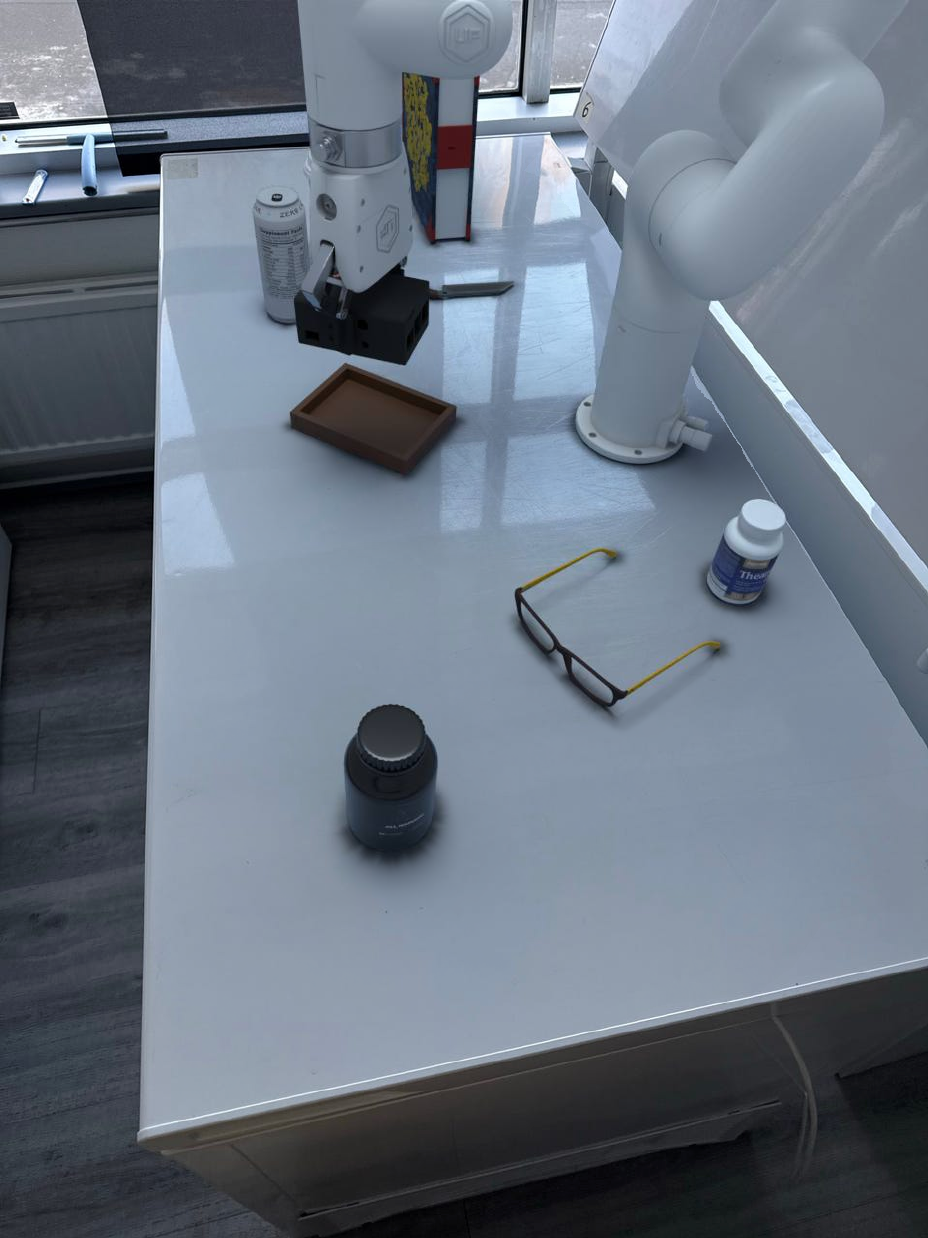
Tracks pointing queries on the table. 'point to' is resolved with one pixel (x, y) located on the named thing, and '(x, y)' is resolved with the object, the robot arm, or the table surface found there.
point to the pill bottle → (747, 552)
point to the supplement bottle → (390, 778)
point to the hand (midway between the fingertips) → (364, 325)
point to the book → (441, 150)
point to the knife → (470, 289)
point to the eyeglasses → (568, 654)
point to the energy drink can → (281, 248)
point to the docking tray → (374, 418)
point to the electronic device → (375, 318)
